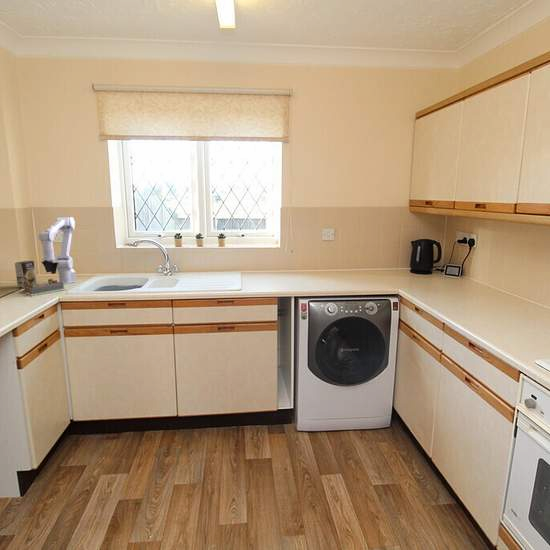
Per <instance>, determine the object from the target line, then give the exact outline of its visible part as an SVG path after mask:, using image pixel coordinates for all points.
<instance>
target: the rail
mask: <svg viewBox="0 0 550 550" xmlns="http://www.w3.org/2000/svg"><path fill="white" fill-rule="evenodd" d="M59 282H60V281H59ZM64 286H65V284H63V283H61V282H60V283H54V284H49V283H48V284H43V285H35V286H33V287H30V288H29V291H30V294H37V293H42V292H48V291H53V290H59V289H64V288H65V287H64Z"/></svg>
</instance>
